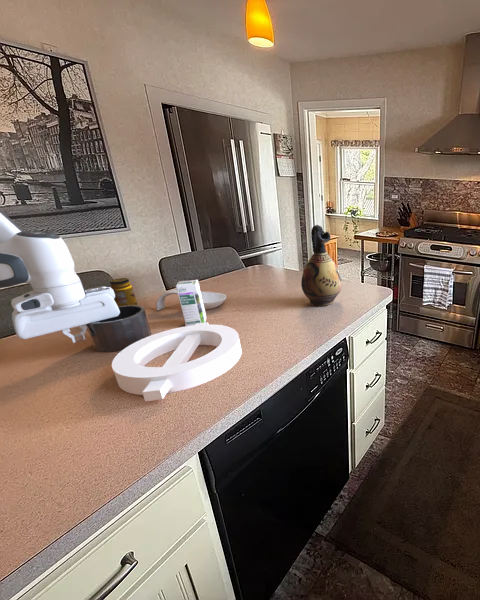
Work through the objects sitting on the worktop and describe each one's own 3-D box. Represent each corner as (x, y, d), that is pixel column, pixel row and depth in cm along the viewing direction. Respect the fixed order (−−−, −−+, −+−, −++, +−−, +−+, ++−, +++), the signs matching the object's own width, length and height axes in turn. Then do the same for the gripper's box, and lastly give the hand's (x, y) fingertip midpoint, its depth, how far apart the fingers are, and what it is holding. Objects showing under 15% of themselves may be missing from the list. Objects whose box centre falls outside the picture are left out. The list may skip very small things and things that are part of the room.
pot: (105, 356, 90) (94, 327, 87) (87, 344, 97) (76, 316, 93) (160, 337, 101) (152, 311, 97) (140, 327, 107) (132, 302, 104)
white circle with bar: (206, 330, 105) (203, 317, 104) (262, 353, 92) (260, 338, 90) (97, 372, 83) (91, 356, 81) (151, 410, 70) (145, 392, 68)
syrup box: (185, 327, 108) (174, 285, 103) (188, 320, 113) (178, 280, 108) (205, 324, 110) (195, 283, 105) (207, 317, 115) (198, 278, 110)
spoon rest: (231, 300, 131) (228, 283, 128) (222, 311, 120) (218, 293, 118) (167, 303, 127) (162, 286, 125) (151, 315, 116) (145, 297, 114)
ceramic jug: (349, 304, 128) (345, 227, 118) (311, 312, 120) (303, 230, 109) (332, 292, 141) (327, 222, 131) (296, 298, 133) (288, 224, 122)
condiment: (144, 307, 124) (135, 277, 119) (128, 316, 116) (117, 284, 112) (125, 307, 123) (115, 277, 119) (107, 316, 116) (96, 284, 111)
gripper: (108, 282, 94) (122, 325, 99) (1, 301, 79) (24, 351, 84) (114, 286, 91) (129, 331, 96) (3, 308, 76) (27, 359, 81)
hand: (79, 340), depth 90 cm, fingers closed
